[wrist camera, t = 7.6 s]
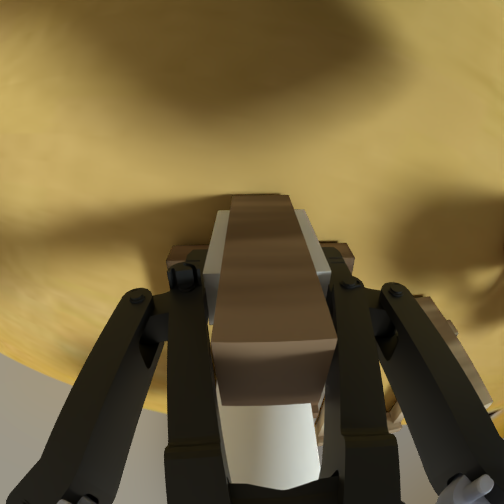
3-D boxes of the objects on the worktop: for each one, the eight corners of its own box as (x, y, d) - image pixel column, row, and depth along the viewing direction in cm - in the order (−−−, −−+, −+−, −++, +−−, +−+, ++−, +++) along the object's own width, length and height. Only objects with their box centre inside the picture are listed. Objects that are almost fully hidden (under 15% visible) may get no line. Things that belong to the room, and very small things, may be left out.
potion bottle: (200, 360, 26) (179, 546, 11) (274, 324, 24) (292, 549, 8) (250, 397, 30) (252, 550, 14) (318, 370, 28) (346, 540, 12)
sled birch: (353, 302, 23) (401, 434, 12) (462, 292, 23) (525, 385, 12) (314, 427, 34) (325, 505, 23) (393, 414, 34) (414, 483, 23)
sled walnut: (166, 198, 18) (78, 333, 8) (352, 196, 18) (454, 323, 8) (204, 398, 29) (195, 497, 19) (313, 395, 29) (328, 493, 19)
